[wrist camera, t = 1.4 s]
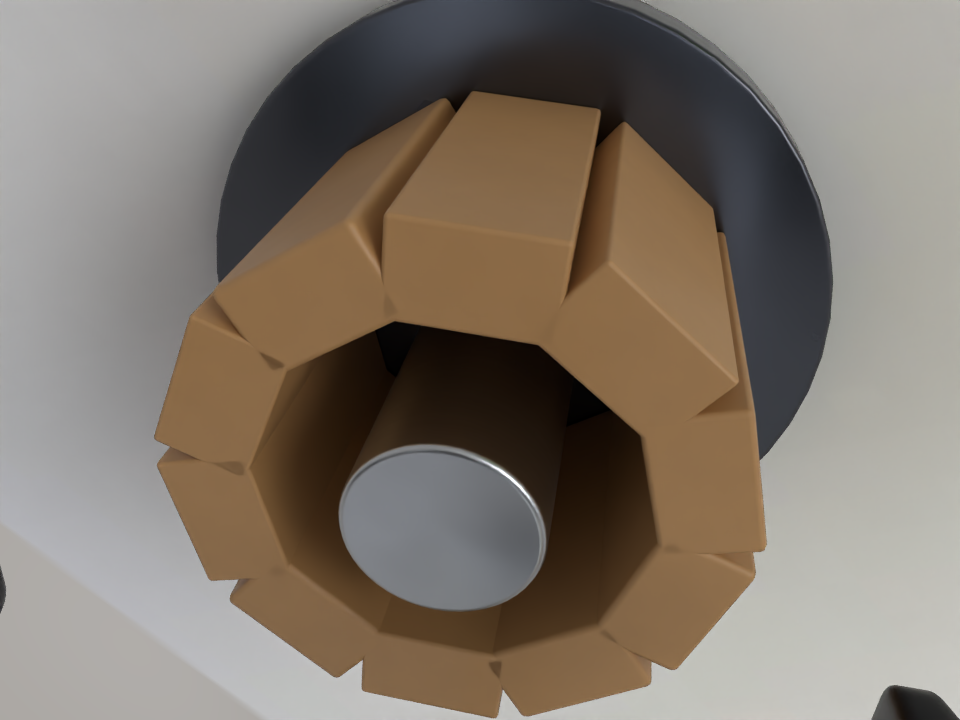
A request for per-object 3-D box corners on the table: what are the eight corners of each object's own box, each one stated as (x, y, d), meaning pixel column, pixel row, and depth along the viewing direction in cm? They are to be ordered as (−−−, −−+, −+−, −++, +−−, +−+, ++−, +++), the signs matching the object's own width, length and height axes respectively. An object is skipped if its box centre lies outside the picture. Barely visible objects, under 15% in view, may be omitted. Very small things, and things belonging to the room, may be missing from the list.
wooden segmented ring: (523, 551, 17) (479, 785, 13) (218, 302, 16) (54, 479, 11) (831, 324, 14) (907, 540, 10) (486, -18, 12) (398, 62, 8)
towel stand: (529, 594, 19) (477, 902, 14) (137, 280, 17) (-114, 499, 11) (958, 295, 15) (1144, 582, 9) (496, -192, 12) (363, -210, 7)
